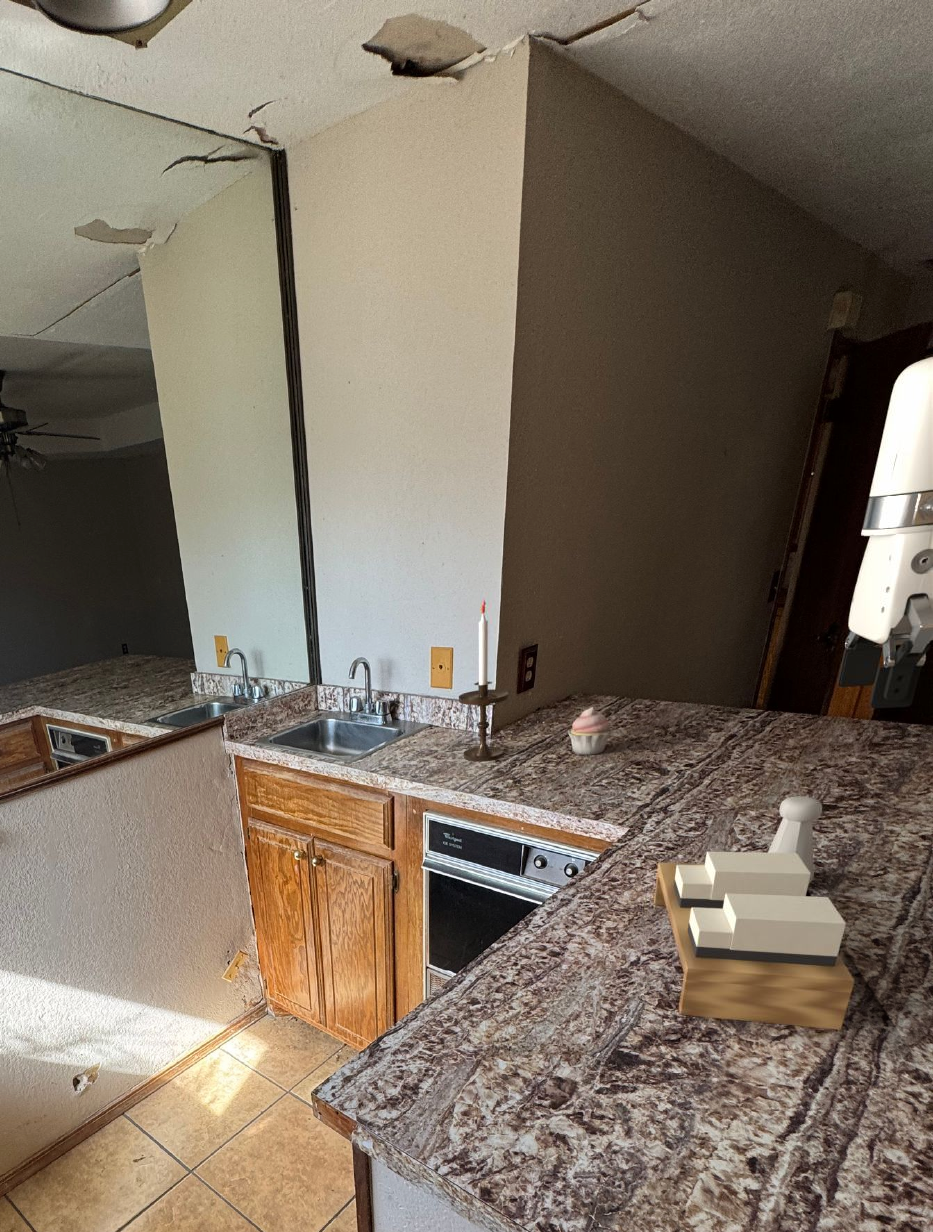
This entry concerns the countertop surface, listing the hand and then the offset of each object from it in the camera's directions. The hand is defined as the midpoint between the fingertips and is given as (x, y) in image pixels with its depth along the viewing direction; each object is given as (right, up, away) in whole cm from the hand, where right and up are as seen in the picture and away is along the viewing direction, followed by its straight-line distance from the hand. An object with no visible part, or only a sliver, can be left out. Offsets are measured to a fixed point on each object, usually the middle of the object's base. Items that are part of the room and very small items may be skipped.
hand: (871, 695), depth 72 cm
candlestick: (-12, +11, +92) cm, 93 cm away
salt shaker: (+7, -21, +21) cm, 30 cm away
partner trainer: (-12, -27, 0) cm, 29 cm away
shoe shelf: (-8, -28, +10) cm, 31 cm away
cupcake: (+10, +11, +84) cm, 85 cm away
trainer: (-8, -22, +9) cm, 25 cm away
